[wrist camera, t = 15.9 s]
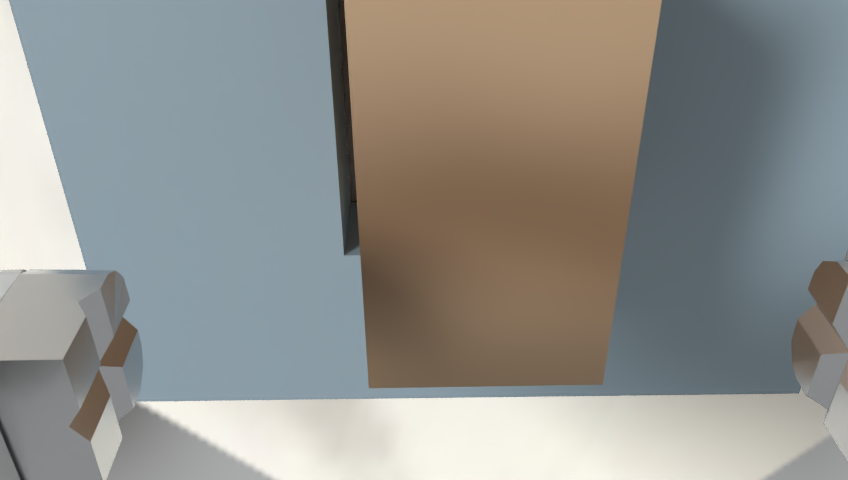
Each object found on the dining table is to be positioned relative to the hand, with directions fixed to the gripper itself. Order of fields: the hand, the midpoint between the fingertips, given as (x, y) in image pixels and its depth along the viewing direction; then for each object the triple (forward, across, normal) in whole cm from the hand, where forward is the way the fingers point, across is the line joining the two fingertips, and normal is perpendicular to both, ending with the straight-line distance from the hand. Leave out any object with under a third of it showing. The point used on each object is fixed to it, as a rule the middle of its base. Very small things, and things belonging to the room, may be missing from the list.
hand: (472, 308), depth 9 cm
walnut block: (+10, -1, 0) cm, 11 cm away
